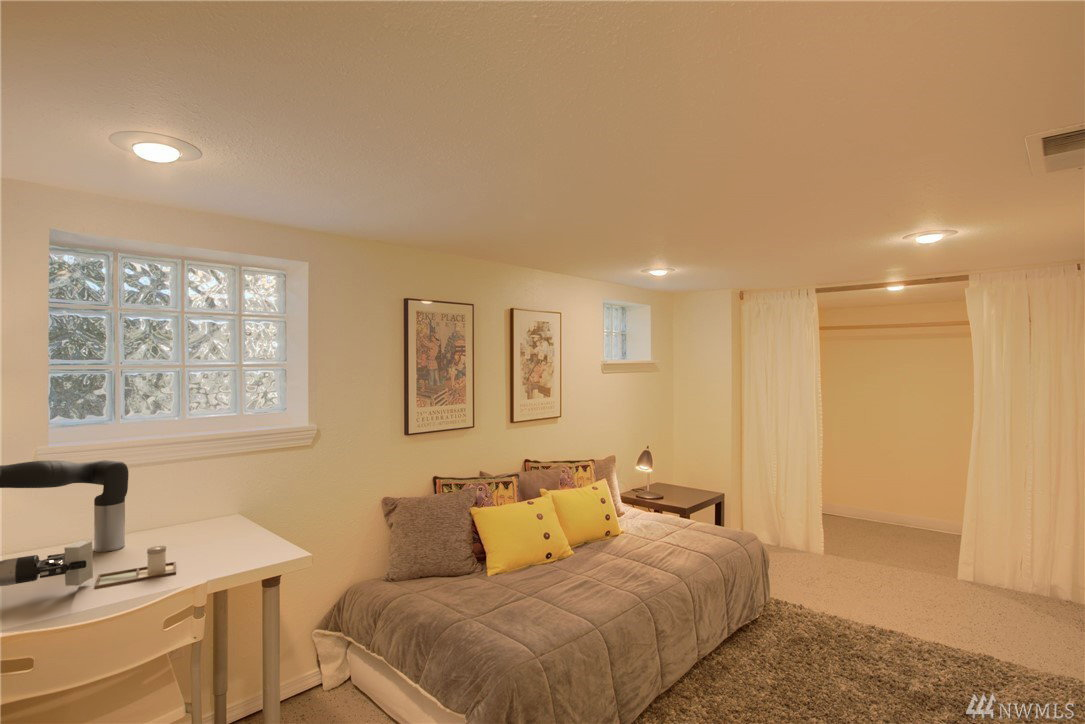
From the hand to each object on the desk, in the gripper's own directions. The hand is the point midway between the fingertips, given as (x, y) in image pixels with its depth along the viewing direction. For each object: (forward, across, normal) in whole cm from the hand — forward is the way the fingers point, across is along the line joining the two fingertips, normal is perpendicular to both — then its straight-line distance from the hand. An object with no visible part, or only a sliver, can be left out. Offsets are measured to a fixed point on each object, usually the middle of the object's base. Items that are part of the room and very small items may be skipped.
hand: (87, 559), depth 174 cm
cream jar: (+18, +2, +8) cm, 20 cm away
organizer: (+13, +2, +9) cm, 16 cm away
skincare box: (-2, 0, +7) cm, 7 cm away
